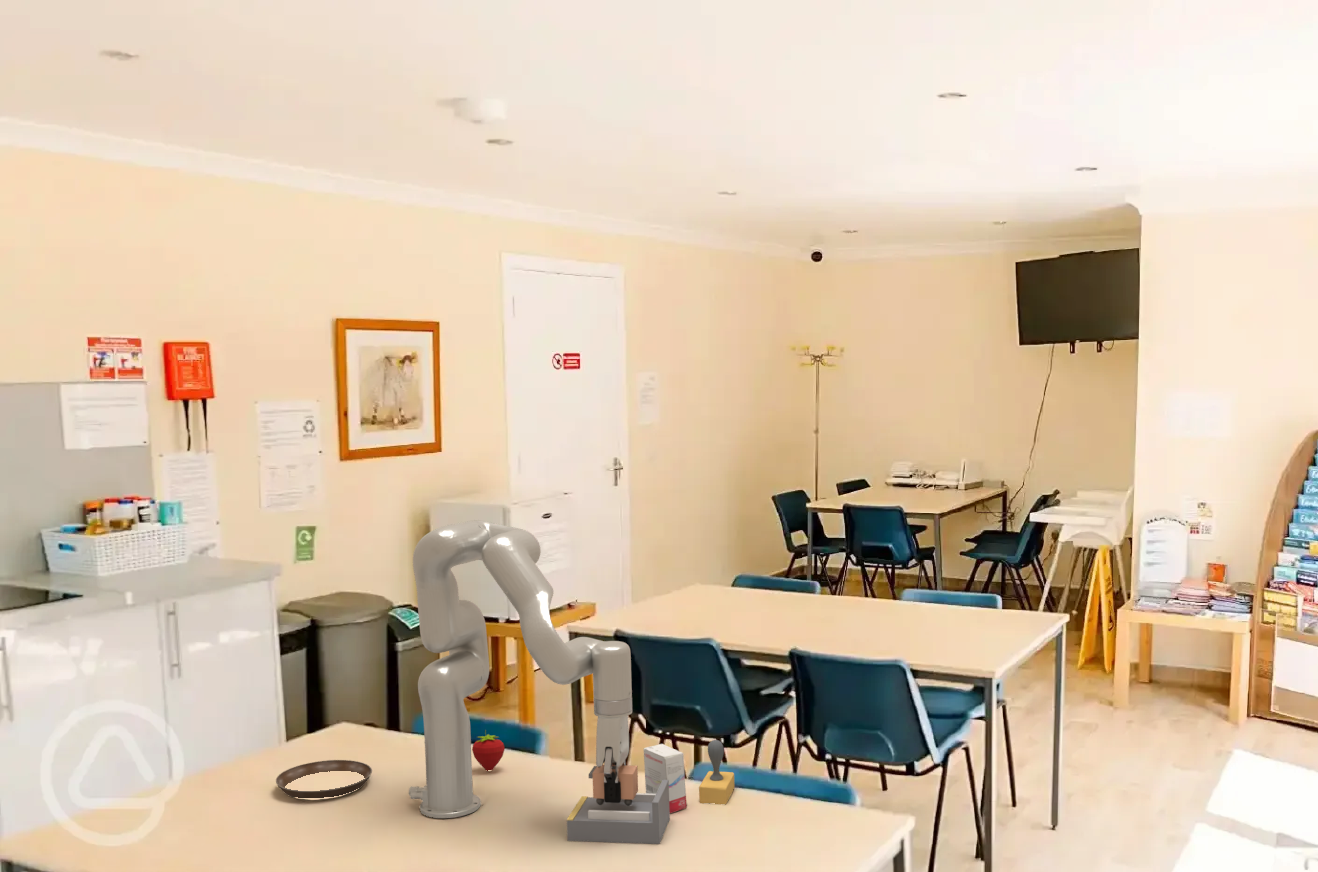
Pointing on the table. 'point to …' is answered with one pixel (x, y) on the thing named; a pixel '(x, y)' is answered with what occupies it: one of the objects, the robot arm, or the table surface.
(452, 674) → the robot arm
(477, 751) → the strawberry
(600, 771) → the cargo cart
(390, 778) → the table surface
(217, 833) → the table surface
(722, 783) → the rubber stamp
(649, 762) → the ink box
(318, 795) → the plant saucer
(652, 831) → the loading dock
